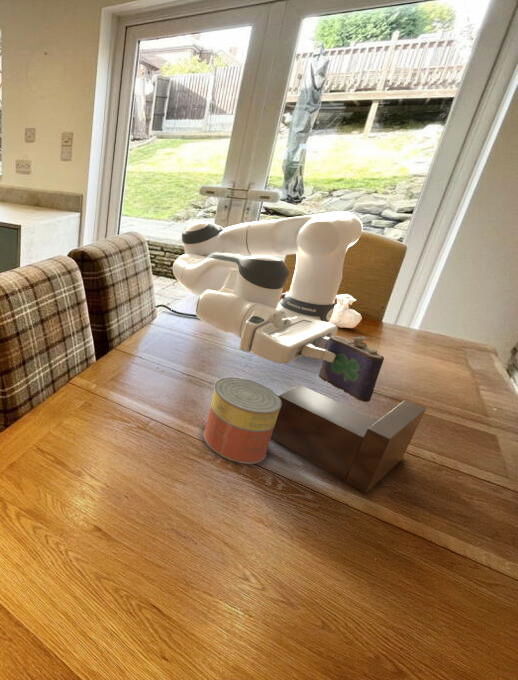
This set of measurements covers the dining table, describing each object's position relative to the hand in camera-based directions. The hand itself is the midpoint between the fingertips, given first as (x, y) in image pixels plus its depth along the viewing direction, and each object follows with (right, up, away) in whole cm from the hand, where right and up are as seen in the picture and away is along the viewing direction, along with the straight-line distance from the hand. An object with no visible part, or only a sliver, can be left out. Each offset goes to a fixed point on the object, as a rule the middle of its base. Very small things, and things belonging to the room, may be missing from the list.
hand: (340, 355), depth 74 cm
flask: (+1, -6, 0) cm, 6 cm away
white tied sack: (+48, +2, +60) cm, 77 cm away
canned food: (-17, -19, +6) cm, 26 cm away
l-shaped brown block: (+3, -19, +5) cm, 20 cm away
